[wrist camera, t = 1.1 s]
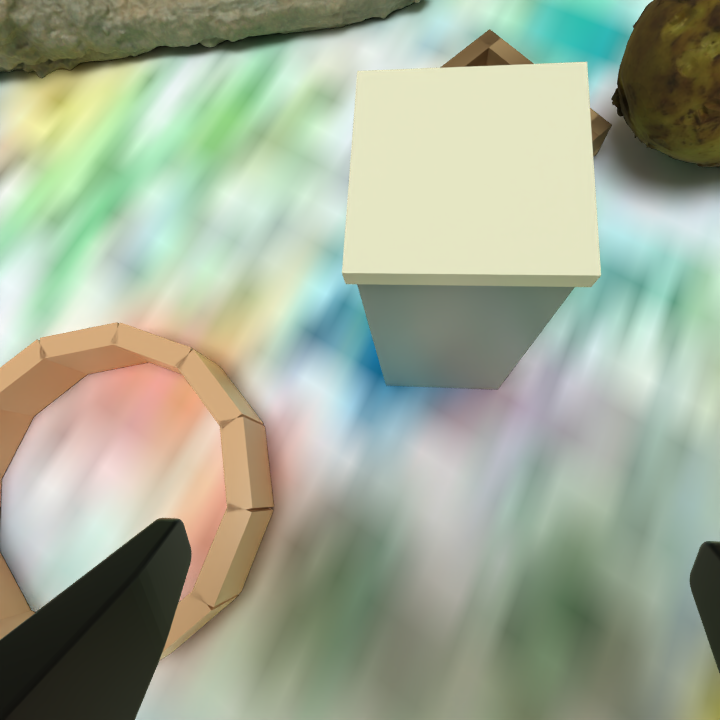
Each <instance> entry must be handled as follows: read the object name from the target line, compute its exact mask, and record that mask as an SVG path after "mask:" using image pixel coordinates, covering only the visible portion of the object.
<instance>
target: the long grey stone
mask: <svg viewBox="0 0 720 720" xmlns="http://www.w3.org/2000/svg"><path fill="white" fill-rule="evenodd" d="M420 1H421V0H0V71H5V72H11V71H12V70H15V69H18V70H21V69H23V70H24V71H26V72H28V73H29V72H31V71H35V72H36V73H37V75H38V77H40V78H43V77H45V76H46V75H47V74H49V73H51V72H53V71H55V70H57V69H67V70H72V69H73V68H74V67H75V66H77V65H78V64H79V63H81V62H89V61H104V60H113V59H118V58H124V57H128V56H129V55H131V56H134V57H135V56H137V55H139V54H142V53H144V52H149V51H151V50H152V49H153V48H156V47H157V46H165V45H166V46H169V47H178V46H186V47H189V46H191V45H194V44H198V43H199V42H200V43H201V44H202V45H203V46H206V47H214V46H216V45H217V44H218V43H221V42H223V41H225V40H230V41H231V42H234V41H237V40H239V39H244V38H246V37H249V36H257V35H267V34H274V33H284V34H286V33H290V32H293V33H295V32H299V31H302V32H305V31H310V30H318V29H324V28H335V27H339V28H341V27H344V26H346V25H349V24H353V23H356V22H360V21H363V20H365V19H367V18H371V17H380V18H386V16H387V15H388V14H390V13H391V12H392V11H395V10H397V9H402V8H404V7H406V6H409V5H411V4H412V3H414V2H415V3H419V2H420Z"/></svg>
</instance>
